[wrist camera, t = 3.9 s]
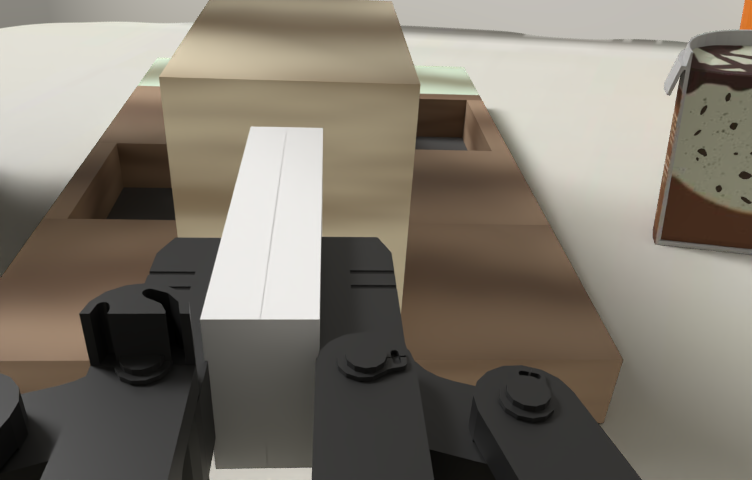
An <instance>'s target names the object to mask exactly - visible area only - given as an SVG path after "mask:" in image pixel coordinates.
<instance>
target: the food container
mask: <svg viewBox="0 0 752 480" xmlns="http://www.w3.org/2000/svg"><path fill="white" fill-rule="evenodd" d="M679 77H680V80H679V86H678V91H677V97H676V103H675V108H674V114H673V120H672V125H671V131H670V137H669V142H668V148H667V154H666V159H665V165H664V171H663V176H662V182H661V187H660V193H659V199H658V204H657V210H656V216H655V221H654V227H653V239H654V242H655V244H658V245H668V246H677V247H686V248H695V249H704V250H714V251H723V252H732V253H741V254H751V255H752V30H721V31H713V32H707V33H703V34H699V35H697V36H695V37H693V38H691V40H690V41H689V42H688V45H687V47H686V49H684V50H682V51H681V52H680V54H679V55H678V57H677V59H676V61H675V63H674V65H673V67H672V69H671V71H670V73H669V75H668V77H667V79H666V81H665V82H664V90H665V92H666V94H667V95H671V93H672V91H673V89H674V87H675V85H676V83H677V81H678V79H679Z"/></svg>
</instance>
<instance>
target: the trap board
mask: <svg viewBox="0 0 752 480" xmlns="http://www.w3.org/2000/svg"><path fill="white" fill-rule="evenodd" d="M170 59H171V58H157V59H156V61H155V62H154V64H153V65H152V66H151V68H150V69H149V71H148V72H147V73H146V75H145V76H144V78H143V79H142V80H141V82H140V83H139V85H138V86H137V87H136V89H135V90H134V92H133V93H132V94H131V96H130V97H129V99H128V100H127V101H126V103H125V104H124V106H123V107H122V108H121V110H120V111H119V113H118V114H117V115H116V117H115V118H114V120H113V121H112V122H111V124H110V125H109V127H108V128H107V129H106V131H105V132H104V134H103V135H102V136H101V138H100V139H99V141H98V142H97V143H96V145H95V146H94V148H93V149H92V150H91V152H90V153H89V155H88V156H87V157H86V159H85V160H84V162H83V163H82V164H81V166H80V167H79V169H78V170H77V171H76V173H75V174H74V176H73V177H72V178H71V180H70V181H69V183H68V184H67V185H66V187H65V188H64V190H63V191H62V192H61V194H60V195H59V197H58V198H57V199H56V201H55V202H54V204H53V205H52V206H51V208H50V209H49V211H48V212H47V213H46V215H45V216H44V218H43V219H42V220H41V222H40V223H39V225H38V226H37V227H36V229H35V230H34V232H33V233H32V234H31V236H30V237H29V239H28V240H27V241H26V243H25V244H24V246H23V247H22V248H21V250H20V251H19V253H18V254H17V255H16V257H15V258H14V260H13V261H12V262H11V264H10V265H9V267H8V268H7V269H6V271H5V272H4V274H3V275H2V276H1V278H0V373H1V374H4V375H7V376H9V377H11V378H12V380H13V381H14V382H15V383H16V384H17V386H18V387H19V390H20V393H21V394H24V393H28V392H32V391H37V390H41V389H46V388H50V387H55V386H59V385H62V384H66V383H69V382H72V381H76V380H78V379H80V378H82V377H84V376H86V375H87V372H88V370H89V368H90V362H89V357H88V352H87V348H86V343H85V339H84V334H83V329H82V325H81V320H80V316H79V313H80V312H81V311H82V310H83V308H84V307H85V306H86V305H87V304H88V303H89V301H91V300H93V299H94V298H96V297H98V296H99V295H101V294H103V293H104V292H106V291H109V290H112V289H116V288H119V287H122V286H125V285H133V284H142V283H145V281H146V278H147V276H148V275H149V271H150V268H151V266H152V263H153V261H154V259H155V256H156V254H157V252H159V251H160V250H161V249H162V248H163V247H165V246H166V245H167V244H168V243H169V242H171V241H172V240H173V239H174V238H175V237H178V235H177V227H176V218H175V210H174V201H173V193H172V184H171V176H170V167H169V159H168V151H167V142H166V134H165V125H164V117H163V108H162V100H161V91H160V83H159V76H160V74H161V73H162V71H163V70H164V68H165V67H166V65H167V64H168V62H169V61H170ZM414 67H415V70H416V73H417V76H418V78H419V81H420V84H421V85H420V97H419V109H418V120H417V132H416V144H415V155H414V167H413V179H412V190H411V202H410V214H409V226H408V237H407V249H406V261H405V272H404V284H403V296H402V307H401V319H402V326H403V333H404V339H405V344H406V347H407V349H408V350H409V351H410V352H411V355H412V357H413V359H414V361H415V362H417V363H418V364H419V365H420V366H421V367H423V368H424V369H425V370H427V371H429V372H431V373H433V374H435V375H437V376H439V377H442V378H446V379H449V380H452V381H456V382H460V383H465V384H469V385H473V386H476V382H477V381H478V380H479V379H480V378H481V377H482V376H483V375H484V374H485V373H486V372H487V371H490V370H493V369H495V368H498V367H501V366H513V365H523V366H528V367H532V368H537V369H541V370H543V371H545V372H547V373H549V374H551V375H553V376H555V377H557V378H559V379H560V380H561V381H563V382H564V383H565V384H566V385H567V386H568V387H569V388H570V389H571V390H572V391H573V392H574V393H575V394H576V396H577V397H578V398H579V399H580V401H581V402H582V403H583V405H584V406H585V407H586V409H587V410H588V411H589V412H590V414H591V415H592V416H593V418H594V419H595V420H596V421H597V423H604V420H605V416H606V413H607V410H608V407H609V403H610V400H611V397H612V394H613V391H614V387H615V384H616V381H617V378H618V374H619V371H620V368H621V365H622V362H623V359H622V357H621V355H620V353H619V351H618V349H617V348H616V346H615V344H614V342H613V340H612V338H611V336H610V335H609V333H608V331H607V329H606V327H605V325H604V324H603V322H602V320H601V318H600V316H599V314H598V313H597V311H596V309H595V307H594V305H593V303H592V302H591V300H590V298H589V296H588V294H587V292H586V291H585V289H584V287H583V285H582V283H581V281H580V280H579V278H578V276H577V274H576V272H575V270H574V269H573V267H572V265H571V263H570V261H569V259H568V257H567V256H566V254H565V252H564V250H563V248H562V246H561V245H560V243H559V241H558V239H557V237H556V235H555V234H554V232H553V230H552V228H551V226H550V224H549V223H548V221H547V219H546V217H545V215H544V213H543V212H542V210H541V208H540V206H539V204H538V202H537V201H536V199H535V197H534V195H533V193H532V191H531V190H530V188H529V186H528V184H527V182H526V180H525V178H524V177H523V175H522V173H521V171H520V169H519V167H518V166H517V164H516V162H515V160H514V158H513V156H512V155H511V153H510V151H509V149H508V147H507V145H506V144H505V142H504V140H503V138H502V136H501V134H500V133H499V131H498V129H497V127H496V125H495V123H494V122H493V120H492V118H491V116H490V114H489V112H488V111H487V109H486V107H485V105H484V103H483V101H482V99H481V98H480V96H479V94H478V92H477V90H476V88H475V87H474V85H473V83H472V81H471V79H470V77H469V76H468V74H467V72H466V70H465V68H464V67H444V66H414Z"/></svg>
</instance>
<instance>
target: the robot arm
mask: <svg viewBox="0 0 752 480" xmlns="http://www.w3.org/2000/svg"><path fill="white" fill-rule="evenodd" d="M322 206H323V128H301V127H253V126H251V127H250V131H249V135H248V139H247V143H246V146H245V150H244V154H243V158H242V162H241V165H240V169H239V173H238V177H237V181H236V184H235V188H234V192H233V196H232V200H231V203H230V207H229V211H228V215H227V219H226V222H225V226H224V230H223V234H222V238H182V237H175V238H174V239H173V240H172V241H171V242H169V243H168V244H167V245H166V246H165V247H163V248H162V249H161V250H160V251H159V252H157V254H156V256H155V259H154V261H153V263H152V266H151V268H150V271H149V275H148V276H147V278H146V281H145V283H142V284H133V285H125V286H122V287H119V288H116V289H112V290H109V291H106V292H104V293H103V294H101V295H99V296H98V297H96V298H94V299H93V300H91V301H89V303H88V304H87V305H86V306H85V307H84V308H83V310H82V311H81V312H80V313H79V316H80V320H81V325H82V329H83V334H84V339H85V343H86V348H87V352H88V357H89V362H90V368H89V370H88V372H87V375H86V376H84V377H82V378H80V379H78V380H76V381H72V382H69V383H66V384H62V385H59V386H55V387H50V388H46V389H41V390H37V391H32V392H28V393H24V394H21V393H20V390H19V387H18V386H17V384H16V383H15V382H14V381H13V380H12V378H11V377H9V376H7V375H4V374H1V373H0V480H210V479H209V472H210V466H211V461H212V455H213V450H214V455H215V465H216V469H242V468H306V467H312V480H642V479H641V478H640V477H639V476H638V474H637V473H636V472H635V470H634V469H633V468H632V467H631V465H630V464H629V463H628V461H627V460H626V459H625V458H624V456H623V455H622V454H621V452H620V451H619V450H618V449H617V447H616V446H615V445H614V443H613V442H612V441H611V439H610V438H609V437H608V436H607V434H606V433H605V432H604V430H603V429H602V428H601V427H600V425H599V424H598V423H597V421H596V420H595V419H594V418H593V416H592V415H591V414H590V412H589V411H588V410H587V409H586V407H585V406H584V405H583V403H582V402H581V401H580V399H579V398H578V397H577V396H576V394H575V393H574V392H573V391H572V390H571V389H570V388H569V387H568V386H567V385H566V384H565V383H564V382H563V381H561V380H560V379H559V378H557V377H555V376H553V375H551V374H549V373H547V372H545V371H543V370H541V369H537V368H532V367H528V366H523V365H513V366H501V367H498V368H495V369H493V370H490V371H487V372H486V373H485V374H484V375H483V376H482V377H481V378H480V379H479V380H478V381H477V382H476V386H473V385H469V384H465V383H460V382H456V381H452V380H449V379H446V378H442V377H439V376H437V375H435V374H433V373H431V372H429V371H427V370H425V369H424V368H423V367H421V366H420V365H419V364H418V363H417V362H415V361H414V359H413V357H412V355H411V352H410V351H409V350H408V349H407V347H406V344H405V339H404V333H403V326H402V319H401V312H400V306H399V299H398V292H397V289H396V279H395V274H394V266H393V259H392V253H391V252H390V250H389V249H388V248H387V247H386V246H385V245H384V244H383V243H382V242H381V240H380V239H379V238H378V237H322Z"/></svg>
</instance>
